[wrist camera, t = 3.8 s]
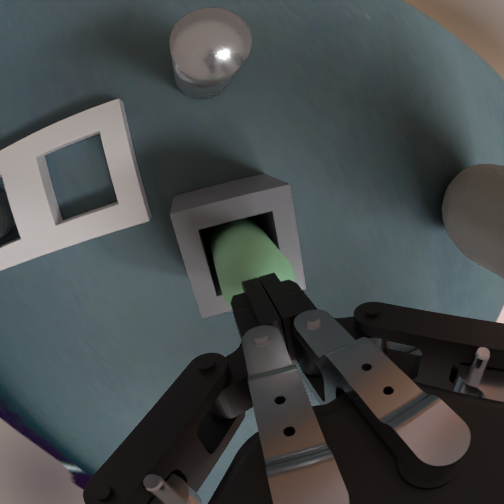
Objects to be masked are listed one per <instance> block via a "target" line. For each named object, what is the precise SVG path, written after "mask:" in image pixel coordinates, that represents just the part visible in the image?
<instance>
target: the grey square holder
mask: <svg viewBox="0 0 504 504" xmlns="http://www.w3.org/2000/svg"><path fill="white" fill-rule="evenodd" d="M254 215H256V220H257V225H258V226H259V227H260V228H261V229H262V230H263V231H264V233H265V234H266V235H267V236H268V237H269V238H270V240H271V241H272V242H273V243H274V244H275V245H276V247H277V248H278V249H279V250H280V251H281V253H282V254H283V255H284V256H285V257H286V258H287V260H288V261H289V262H290V264H291V265H292V268H293V270H294V274H295V283H297V284H298V285H299V286H300V288H301V289H302V290H305V289H306V286H305V279H304V272H303V265H302V258H301V251H300V244H299V238H298V231H297V225H296V218H295V212H294V206H293V200H292V194H291V188H290V184H288V183H285V182H283V181H281V180H278V179H276V178H274V177H271V176H269V175H267V174H260V175H256V176H251V177H247V178H242V179H238V180H234V181H230V182H226V183H222V184H218V185H214V186H210V187H206V188H202V189H198V190H194V191H190V192H187V193H183V194H179V195H176V196H174V197H173V201H172V206H171V211H170V217H171V221H172V224H173V227H174V231H175V234H176V238H177V241H178V245H179V248H180V251H181V254H182V258H183V261H184V264H185V267H186V271H187V274H188V277H189V280H190V283H191V286H192V289H193V292H194V296H195V299H196V302H197V305H198V308H199V311H200V313H201V316H202V319H203V318H207V317H211V316H215V315H218V314H222V313H226V312H229V311H233V310H232V309H231V308H230V307H229V306H228V305H227V303H226V302H225V300H224V298H223V295H222V291H221V287H220V284H219V280H218V276H217V272H216V268H215V264H214V260H210V261H209V260H208V256H207V252H206V249H205V245H204V241H203V238H202V234H201V230H200V229H204V228H208V227H211V226H215V225H219V224H223V223H227V222H231V221H234V220H238V219H242V218H246V217H250V216H254Z"/></svg>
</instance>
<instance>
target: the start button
mask: <svg viewBox="0 0 504 504" xmlns="http://www.w3.org/2000/svg"><path fill="white" fill-rule="evenodd" d="M210 247H211V253H212V257H213V260H214V264H215V268H216V272H217V276H218V280H219V284H220V287H221V291H222V295H223V298H224V300H225V302H226V303H227V305H228V306H229V307H230V308H231V309H232V307H231V300H232V297H233V296H234V295H237V294H241V293H244V292H243V288H242V283H241V282H242V281H246V280H249V279H253V278H256V277H257V278H258V277H260V276H263V275H267V274H270V273H275V274H276V275H277V277H278V278H279V280H280V281H285V280H288V279H289V280H291V281H293V282H295V274H294V270H293V268H292V265H291V264H290V262H289V261H288V260H287V258H286V257H285V256H284V255H283V254H282V253H281V251H280V250H279V249H278V248H277V247H276V245H275V244H274V243H273V242H272V241H271V240H270V238H269V237H268V236H267V235H266V234H265V233H264V231H263V230H262V229H261V228H260V227H259V226H258V225H257V224H256V223H255V222H253V221H252V220H250V219H247V218H242V219H238V220H234V221H231V222H227V223H223V224H220V225H219V226H218V227H217V228H216V230H215V231H214V233H213V235H212V238H211V243H210Z"/></svg>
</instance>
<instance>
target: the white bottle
mask: <svg viewBox="0 0 504 504" xmlns="http://www.w3.org/2000/svg"><path fill="white" fill-rule="evenodd" d="M442 217H443V222H444V226H445V229H446V231H447V233H448V235H449V237H450V238H451V240H452V241H453V242H454V244H455V245H456V246H457V247H458V249H459V250H460V251H461V252H462V253H463V254H464V255H466V256H467V257H468V258H470V259H471V260H473V261H474V262H476V263H478V264H479V265H481V266H483V267H485V268H486V269H488V270H490V271H492V272H493V273H495V274H497V275H499V276H500V277H502V278H504V166H501V165H495V164H478V165H473V166H470V167H468V168H466V169H464V170H462V171H461V172H460V173H459V174H458V175H457V176H456V177H455V178H454V179H453V180H452V181H451V183H450V184H449V185H448V187H447V189H446V192H445V194H444V198H443V204H442Z"/></svg>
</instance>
